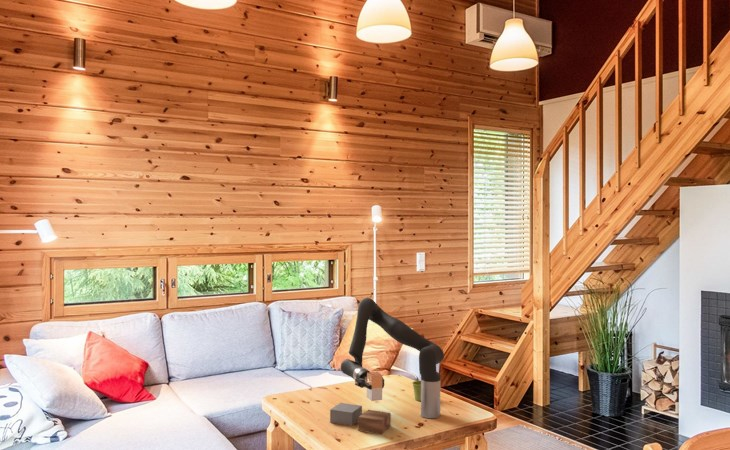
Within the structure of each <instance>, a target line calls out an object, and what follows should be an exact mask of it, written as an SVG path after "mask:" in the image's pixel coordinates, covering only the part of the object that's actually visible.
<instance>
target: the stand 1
mask: <svg viewBox="0 0 730 450" xmlns="http://www.w3.org/2000/svg"><path fill="white" fill-rule="evenodd" d="M329 412H330V413H329V421H330V423H331V424H332V423H333V424H337V425H344V426H349V427H352V426H354V425H355V424H356V423H358V417H359V416H360V415H362V414H363V405H359V404H351V403H345V402H339V403H338V404H337V405H335V406H333V407H332V408H330V409H329Z"/></svg>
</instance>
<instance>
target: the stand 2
mask: <svg viewBox="0 0 730 450" xmlns="http://www.w3.org/2000/svg"><path fill="white" fill-rule="evenodd" d="M391 417H392V416H391V412H385V411H381V410H379V411H378V410H374V409H373V410H372V409H367V410H366V411H365V412H362V415H360V416H359V417H358V422H357V423H358V427H357V428H358V431H359V432H360V431H361V432H365V433H372V434H376V435H377V434H379V435H382V434H383V433H385V432H386V431H387V430H389V428H391V427H392V424H391V423H392V422H391V421H392V420H391V419H392V418H391Z"/></svg>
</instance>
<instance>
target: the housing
mask: <svg viewBox="0 0 730 450" xmlns="http://www.w3.org/2000/svg"><path fill="white" fill-rule="evenodd" d="M382 378H383V379H384V377H383V374H381V373H380V372H378V371H370V373H367V382H368V383H370V384H371V385H372V389H371V390H370V389H368V388H366V398H368V399H369V401H371V402H374V401H375V402H376V401H382V400H383V388H382Z"/></svg>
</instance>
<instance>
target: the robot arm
mask: <svg viewBox="0 0 730 450" xmlns="http://www.w3.org/2000/svg"><path fill="white" fill-rule="evenodd" d="M369 321H370V322H372V323H375V324H377V326H378V327H380V328H381V329H383V331H384V332H385V333H386V334H387V335H388V336H389V337H391V338H392V339H393V340H395V341H396V342H397V343H399V344H401V345H405V346H408V347H409V348H413V349H415V350H417V351H419V354H418V367H419V375H420V381H421V401H420V416H421V417H422V418H425V419H439V418H440V417H441V373H440V372H438V371H437V365H438V364H440V363H441V362H443V360H444V359H445V353H444V350H443V349H442V347H441V346H440V345H437V344H436V343H434V342H432V341H430V340H429V339H427V338H426V337H424V336H422V335H421V334H420V333H419V332H417V331H415V330H414V329H413V328H411V327H410V326H409V325H407V324H406V323H405V322H403V321H402V320H400V319H398V318H397V317H394V316H392V315H389V313H387V312H386V311H385V310H383V309H382V308H381V307H380V306H379V305H378V304H377V303H376V301H375V300H373V299H372V298H370V297H365V298H362V299H361V300H360V302H359V303H358V306H357V316H356V321H355V328H354V332H353V335H352V340H351V341H350V343H351V344H350V346H349V349H348V354H349V355H350V356H351V357H353V359H354V360H351V359H349V358H347V359H344V360H343V361H341V363H340V370H341V372H342V374H344V375H346V376H349V377H351V378H352V379H353V380H354V386H356V387H358V388H361V389H362V388H365V389H367V388H368V389H370V390H371V389H372V385H371V384H370V383H368V382H367V373H370V372H371V371H370V370H369V369H367V368H366V367H363V355H364V350H365V347H366V343H367V334H368V333H367V331H368V330H367V329H368V324H369ZM384 388H385V379H384V377H383V378H382V389H384Z"/></svg>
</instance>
